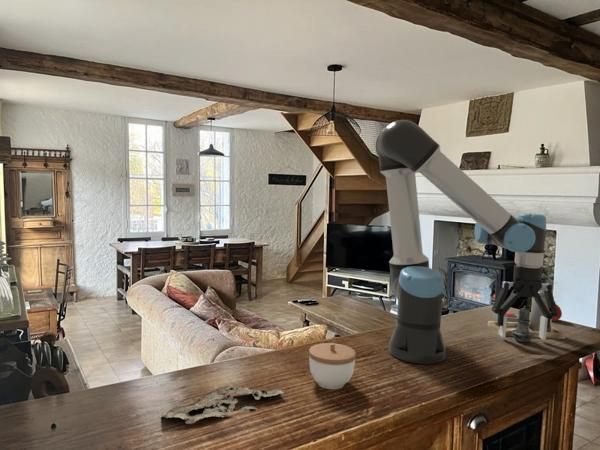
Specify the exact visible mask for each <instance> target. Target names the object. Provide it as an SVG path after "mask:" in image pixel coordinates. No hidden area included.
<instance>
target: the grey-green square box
mask: <svg viewBox="0 0 600 450" xmlns="http://www.w3.org/2000/svg"><path fill="white" fill-rule="evenodd" d="M518 318H519V314H516V313H515V318H514V317H507V322H518V320H517V319H518ZM493 319H494V320H496V321H497V320H498V314H496V313H494V312H493Z"/></svg>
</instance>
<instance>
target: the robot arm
mask: <svg viewBox="0 0 600 450" xmlns="http://www.w3.org/2000/svg"><path fill="white" fill-rule="evenodd" d="M375 152H376V154H377V157H378V164H379V172H380V174H382V175H383V176H384V177H385V181H386V191H387V192H386V193H387V202H388V210H389V211H388V212H389V221H390V233H391V240H392V241H391V242H392V252H393V256H392V257H391V258H390V260H389V261H388V263H389V271H390V272H389V274H390V275H389V280H388V282H389V288H390V291H391V292H392V294H393V295H394V296H395V298H396V299H397V314H396V325H395V327H394V329H393V331H392V335H391V337H390V339H389V343H388V353H389V354H390V355H391V356H393V357H394V358H396V359H399V360H401V361H403V362H407V363H414V364H420V365H432V364H433V365H434V364H439V363H441V362H443V361H444V360H445V358H446V350H447V349H446V346H445V342H444V339H443V334H442V330H441V323H442V322H441V321H442V312H443V311H442V310H443V309H442V308H443V294H444V289H445V284H444V276H443V274H442V273H441V272H440V271H439V270H436V269H433V268H431V267H430V261H429V257H428V256H427V255H425V254H424V253H423V242H422V232H421V231H422V230H421V219H420V209H419V201H418V189H417V182H416V181H417V180H416V173H417V174H418V173H419V174H421V175H422V176H423V177H424V178H426V179H427V181H429V182H430V183H431V184H432V185H434V187H435V188H437V189H438V190H439V191H440V192H442V193H443V195H444V196H446V197H447V198H448V199H450V201H451V202H452V203H454V204H455V205H456V206H457V207H459V208H460V209H461V210H462V211H463V213H465V214H466V215H467V216H469V217H470V219H472V220H473V221H474V222H475V224H474V225H475V226H474V230H473V231H474V239H475V241H476V242H477V243H478V244H481V245H482V244H483V245H495V246H497V247H500V248H503V249H506V250H508V251H510V252H512V253H513V252H514V266H513V277H512V278H513V279H512V281H511V282H510V281H505V280H503V281H501V286H500V287H501V288H500V289H499V292H498V294H497V296H496V299H495V300H494V303H493V305H492V308H491V311H492V313H493V314H494V313H496V314H498V320H496V321H497V324H498V325H499V326H500V332H499V336H500V337H501V338H502V339H503V338H504V339H505V338H506V337H507V336H506V324H507V316H505V314H506V312H507V311H510V308H511V307H512V306H513V305H514V304H515V303H516V302H517V300H518V299H520V298H525V297H527V298H528V297H529V298H532V297H533V298H534V299H535V301H536V303H537V305H538V306H539V308H540V310H541V311H542V313H543V315H544V316H541V318H540V329H539V337H538V338H540V339H541V340H543V341H546V340H547V338H546V331H547V328H549V327H550V319H552V318H553V317H554V316H555V317H556V316H558V313H557V309H556V306H555V303H556V301H555V298H554V299H553V297H554V296H553V293H552V292H553V285H552V284H550V283H548V282H544V283H542V280H543V279H542V277H543V268H542V266H543V265H544V257H545V255H544V252H545V241H546V232H547V217H546V216H545V215H544V214H540V213H525V212H524V213H521V212H520V213H519V214H518V215H517V218H516V217H514V216H513V215H512V214H511V213H510V212H509V211H508V210H507V209H506V208H504V207H503V206H502V205H501V204H500V203H499V202H498V201H496V200H495V198H494V197H492V196H491V195H490V194H489V193H487V192H486V191H485V190H484V189H483V187H481V186H480V185H479V184H478V183H476V181H474V180H473V179H472V178H471V177H470V176H468V175H467V173H466V172H464V171H463V170H462V169H461V168H460V167H459V166H457V164H455V162H453V161H452V160H451V159H450V158H448V157H447V156H446V155H445V154H444V153H443V152H442V151H441V145H440V144H439V143H438V142H437V141H435V139H433V137H431V136H430V134H429V133H427V132H426V131H425V130H424V129H423V128H422V127H420V125H418V124H417V123H416V122H413V121H411V120H408V119H398V120H395V121H392V122H390V123H389V124H387V126H386V127H384V128H383V129H382V130H381V131H380V133H379V134H378V136H377V139H376V141H375ZM511 287H512V288H513V290H512V291H511V293H510V295H509V296H508V297H507V295H508V293H509V290H510V289H511ZM540 290H544V294H545V298H546V301H547V305H548V308H549V311H548V309H547V307H546V306H545V304H544V302H543V301H542V299H541V296H540V294H539V293H538V291H540ZM506 297H507V299H506ZM505 299H506V300H505ZM554 301H555V302H554Z"/></svg>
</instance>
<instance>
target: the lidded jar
mask: <svg viewBox="0 0 600 450" xmlns="http://www.w3.org/2000/svg"><path fill="white" fill-rule="evenodd" d="M308 356H309V357H308V360H309V362H308V363H309V364H308V365H309V370H310V373H311V376H312V378H313V380H314V381H315V382H317V385H318V386H319V387H321V388H323V389H326V390H340V389H342V388H343V387H344V386H345V385H346V384H347V383H348V382H349V381H350V380H351V378H352V376H353V373H354V371H355V364H356V358H357V353H356V351H355V350H354V348H352V347H350V346H349V345H345V344H341V343H333V342H324V343H317V344H314V345H312V346H311V347H309V350H308Z"/></svg>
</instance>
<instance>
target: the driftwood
mask: <svg viewBox="0 0 600 450" xmlns="http://www.w3.org/2000/svg"><path fill="white" fill-rule="evenodd" d="M230 391H233V392H235V393H236V394H241V395H244V394H252V396H253V398H254V399H255V400H257V401H259V400H260V399H261V397H263V398H266V397H272V396H277V395H279V394H284V393H285V390H282V389H278V388H276V389H272V390H268V391H266V390H265V389H249V388H248V387H244V388H243V387H239V386H238V387H237V386H235V385H232V384H229V385H221V386H219V387H218V388H216V389H214V390H213V391H210V392H208V393H207V394H205V395H204V396H202V397H200V398H198V400H197V401H195V402H194V403H192V404H189V405H181V406H176V407H173V408H172V409H170V410H169V411H168V412H166V414H164V415H163V414H161V417H160V419H164V418H165V419H168V418H169V419H170V418H172V419H173V418H180V419H182V420H184V421H185V424H186V425H192V424H195V423H196V422H198V421H199V420H202V419H204V418H212V417H218V418H233V415H232V414H233V413H235V412H234V411H236V409H235V408H236V404H237V403H238V402H239V399H237V398H234V397H233V395H232V393H230ZM223 403H224V404H227V407H226V406H225V405H223ZM198 409H203V411H202V413H201V414H195V415H190V414H189V413H190V412H191V411H193V410H198ZM251 410H255V411H257V410H258V408H256V406H253V405H248V404H244V405H241V406H240V407H239V410H237V412H242V413H246V412H249V413H251ZM230 412H231V413H230ZM230 414H231V415H230ZM229 415H230V416H231V417H230V416H229Z"/></svg>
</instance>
